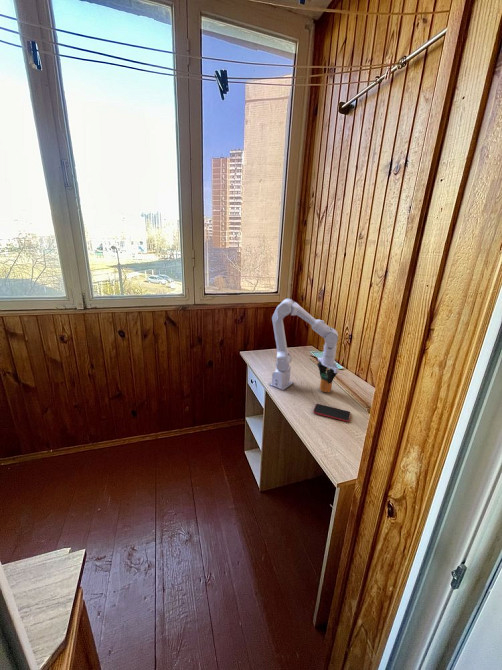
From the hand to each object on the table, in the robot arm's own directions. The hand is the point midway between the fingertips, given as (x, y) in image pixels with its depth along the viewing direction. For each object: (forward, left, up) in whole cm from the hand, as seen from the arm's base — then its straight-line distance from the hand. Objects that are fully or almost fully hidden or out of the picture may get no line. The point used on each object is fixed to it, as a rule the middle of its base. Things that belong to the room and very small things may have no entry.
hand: (326, 379), depth 144 cm
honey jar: (0, 0, -5) cm, 5 cm away
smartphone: (-16, -11, -6) cm, 20 cm away
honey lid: (0, 0, +2) cm, 2 cm away
